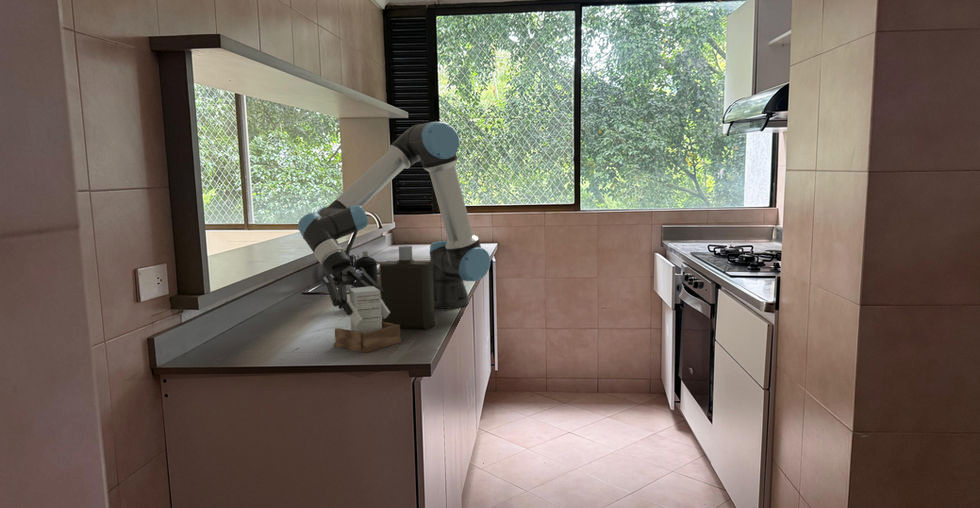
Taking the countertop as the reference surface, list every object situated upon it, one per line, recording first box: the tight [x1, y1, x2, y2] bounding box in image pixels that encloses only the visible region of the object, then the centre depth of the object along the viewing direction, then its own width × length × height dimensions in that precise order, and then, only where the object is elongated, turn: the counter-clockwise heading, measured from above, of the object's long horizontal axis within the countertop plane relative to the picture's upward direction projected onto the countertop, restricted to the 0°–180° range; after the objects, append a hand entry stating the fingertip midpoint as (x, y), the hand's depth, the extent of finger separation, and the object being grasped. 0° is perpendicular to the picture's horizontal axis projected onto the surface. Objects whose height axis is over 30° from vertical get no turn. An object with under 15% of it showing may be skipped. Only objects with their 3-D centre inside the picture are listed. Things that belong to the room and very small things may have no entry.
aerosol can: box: [353, 250, 379, 288], centre depth 233 cm, size 8×8×20 cm
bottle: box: [379, 245, 436, 330], centre depth 201 cm, size 8×16×25 cm, turn 74°
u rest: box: [333, 322, 402, 354], centre depth 182 cm, size 13×13×5 cm
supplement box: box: [348, 286, 382, 333], centre depth 181 cm, size 7×7×13 cm
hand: (373, 319), depth 179 cm, fingers closed on supplement box, 10 cm apart
